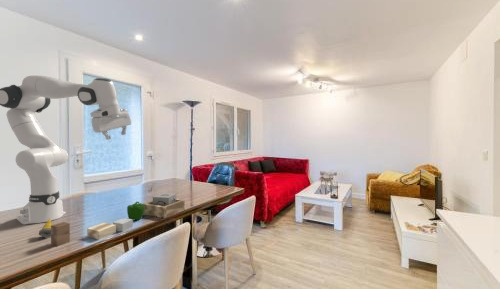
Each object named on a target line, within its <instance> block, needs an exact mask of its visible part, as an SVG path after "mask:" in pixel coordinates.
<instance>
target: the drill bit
mask: <svg viewBox="0 0 500 289" xmlns="http://www.w3.org/2000/svg"><path fill="white" fill-rule="evenodd" d="M51 225H53V224H52V220H50V219H49V220H48V221H47V222H46V223H45V224H44V226H43V227H42V228H41V229H40V230H39V231H38V236H40V237H43V238H45V240H47V239H51Z"/></svg>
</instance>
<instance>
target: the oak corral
mask: <svg viewBox="0 0 500 289" xmlns="http://www.w3.org/2000/svg"><path fill="white" fill-rule="evenodd" d="M185 202H186V201H185V199H181V198H176V202H175V203H172V204H170V205H167V206H158V205H153V200H150V201H147V202H144V203H141V204H142V205H143V206H144V212H143V215H147V216H151V217H152V216H153V217H156V216H157V218H161V217H163V218H162V219H166V218H168V217H170V216H173V215H175V214H177V213H179V211H180V212H181V210H182V211H184V210H185V206H186V205H185ZM183 209H184V210H183Z"/></svg>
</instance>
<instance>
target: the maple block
mask: <svg viewBox="0 0 500 289" xmlns="http://www.w3.org/2000/svg"><path fill="white" fill-rule="evenodd" d="M114 234H117V231H116V225H114V224H113V223H108V222H102V223H98V224H96V225H93V226H90V227H88V228H87V231H86V236H87V237H88V238H91V239H95V240H98V241H100V240H102V239H104V238H107V237H109V236H111V235H114Z"/></svg>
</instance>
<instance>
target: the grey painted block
mask: <svg viewBox="0 0 500 289" xmlns="http://www.w3.org/2000/svg"><path fill="white" fill-rule="evenodd" d="M112 224H114V225H116V232H117V231H118V232H122V233H123V232H125V231H127V230H129V229H132V228H134V220H133V219H129V218H125V217H124V218H120V219H118V220H115V221H113V223H112Z"/></svg>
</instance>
